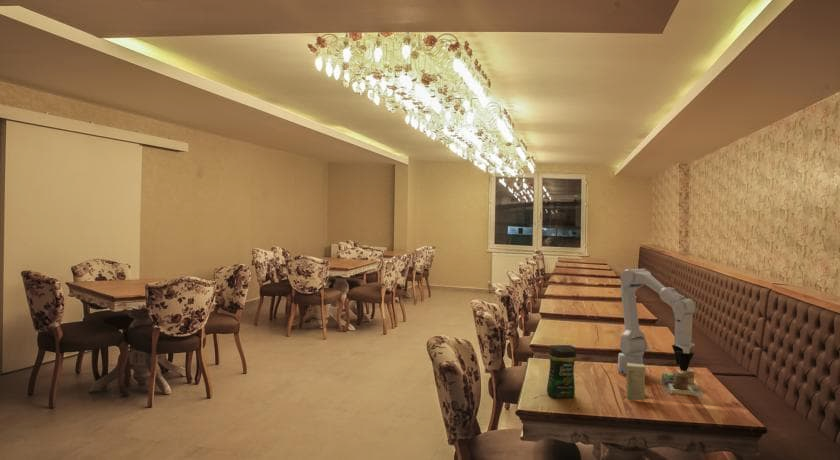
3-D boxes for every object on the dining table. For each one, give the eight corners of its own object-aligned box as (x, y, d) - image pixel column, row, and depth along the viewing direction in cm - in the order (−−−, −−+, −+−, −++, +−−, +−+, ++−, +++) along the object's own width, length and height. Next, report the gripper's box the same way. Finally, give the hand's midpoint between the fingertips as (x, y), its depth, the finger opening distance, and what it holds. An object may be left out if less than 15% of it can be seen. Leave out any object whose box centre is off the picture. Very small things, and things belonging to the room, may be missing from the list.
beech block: (682, 386, 209) (682, 370, 208) (680, 383, 213) (680, 367, 212) (693, 387, 208) (694, 371, 207) (691, 384, 212) (692, 368, 211)
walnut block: (675, 391, 202) (676, 375, 202) (673, 388, 206) (674, 372, 206) (687, 392, 201) (687, 376, 201) (685, 389, 205) (685, 373, 205)
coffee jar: (552, 399, 195) (553, 348, 194) (544, 392, 203) (545, 342, 202) (578, 398, 197) (579, 347, 196) (569, 391, 204) (570, 342, 204)
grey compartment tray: (667, 395, 201) (668, 389, 201) (661, 383, 216) (661, 377, 216) (703, 399, 198) (704, 393, 198) (694, 386, 213) (695, 380, 213)
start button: (666, 382, 211) (667, 375, 211) (665, 379, 214) (665, 373, 214) (674, 382, 211) (674, 376, 210) (672, 380, 213) (673, 374, 213)
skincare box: (644, 397, 200) (645, 364, 199) (644, 401, 196) (646, 367, 195) (625, 394, 202) (626, 362, 201) (625, 398, 198) (626, 365, 197)
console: (663, 384, 210) (664, 376, 210) (661, 380, 215) (662, 373, 215) (677, 386, 209) (678, 378, 209) (675, 381, 214) (675, 374, 214)
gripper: (699, 336, 195) (697, 374, 196) (690, 328, 209) (689, 363, 209) (677, 335, 197) (676, 372, 197) (670, 326, 211) (669, 361, 211)
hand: (681, 367), depth 204 cm, fingers open, 7 cm apart
